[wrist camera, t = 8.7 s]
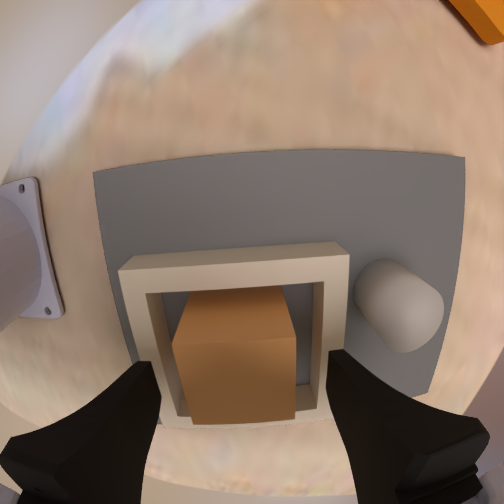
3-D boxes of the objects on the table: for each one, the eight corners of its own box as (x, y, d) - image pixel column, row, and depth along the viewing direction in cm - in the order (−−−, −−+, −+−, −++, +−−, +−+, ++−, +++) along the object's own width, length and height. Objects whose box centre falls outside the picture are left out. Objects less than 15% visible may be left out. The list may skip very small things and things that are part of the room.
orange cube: (203, 360, 15) (193, 424, 10) (191, 289, 14) (171, 344, 9) (282, 355, 15) (295, 419, 11) (279, 283, 14) (296, 336, 9)
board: (157, 413, 17) (143, 465, 13) (101, 171, 13) (49, 177, 9) (421, 384, 17) (449, 426, 13) (454, 156, 13) (511, 161, 9)
